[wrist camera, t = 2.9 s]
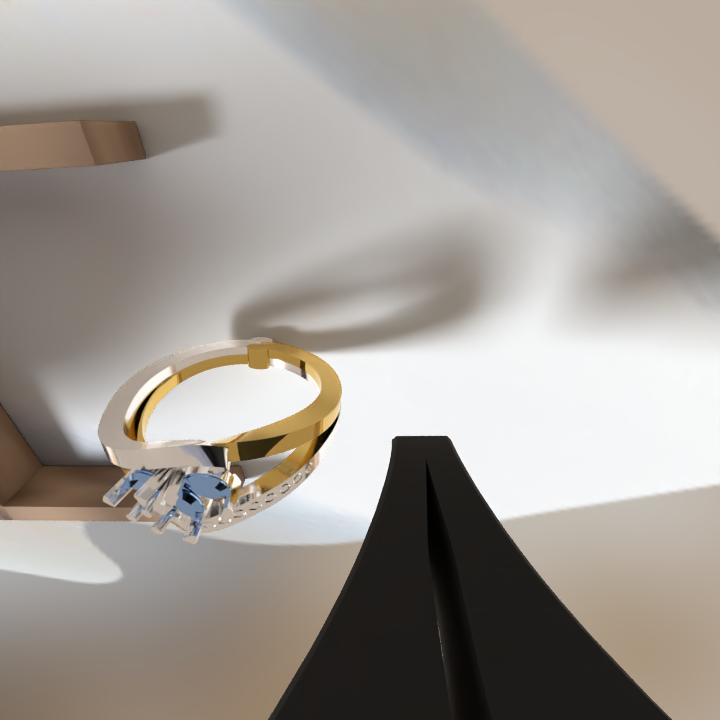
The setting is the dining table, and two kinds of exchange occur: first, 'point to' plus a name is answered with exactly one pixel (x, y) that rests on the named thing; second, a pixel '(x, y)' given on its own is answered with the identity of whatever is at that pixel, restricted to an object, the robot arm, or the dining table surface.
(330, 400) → the ring
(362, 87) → the dining table surface
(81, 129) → the brown u-shaped frame
